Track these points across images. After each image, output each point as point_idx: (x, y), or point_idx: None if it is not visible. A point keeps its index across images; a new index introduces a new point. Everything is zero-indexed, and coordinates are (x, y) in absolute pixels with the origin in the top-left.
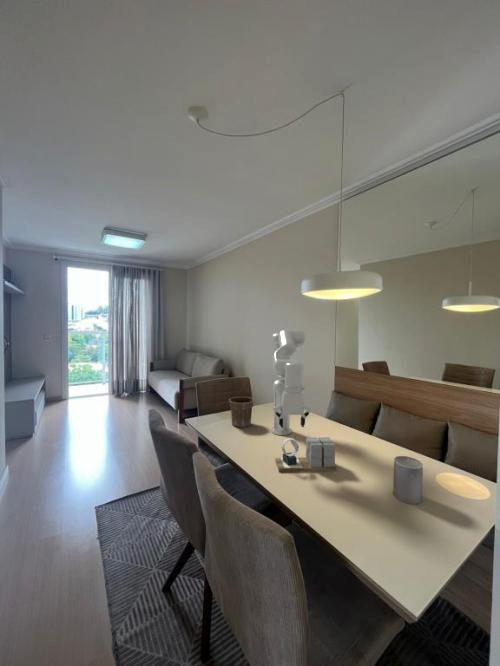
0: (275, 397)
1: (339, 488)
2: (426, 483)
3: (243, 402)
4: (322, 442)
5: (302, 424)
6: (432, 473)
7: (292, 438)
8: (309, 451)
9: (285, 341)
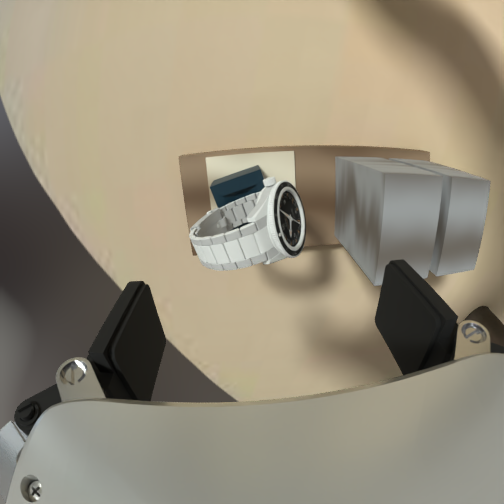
0: None
1: (373, 324)
2: None
3: None
4: (442, 246)
5: (386, 341)
6: None
7: (271, 228)
8: (357, 233)
9: None
